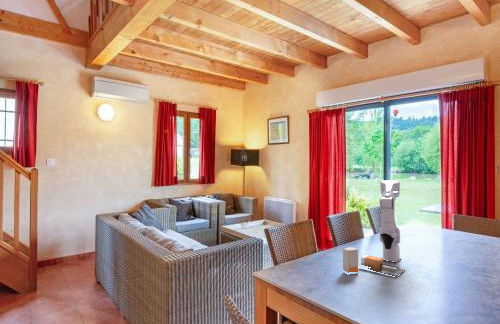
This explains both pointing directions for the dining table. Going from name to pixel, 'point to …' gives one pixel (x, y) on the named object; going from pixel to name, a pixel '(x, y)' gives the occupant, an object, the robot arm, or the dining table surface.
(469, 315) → the dining table surface
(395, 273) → the plate
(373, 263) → the lock block
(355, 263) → the skincare box
